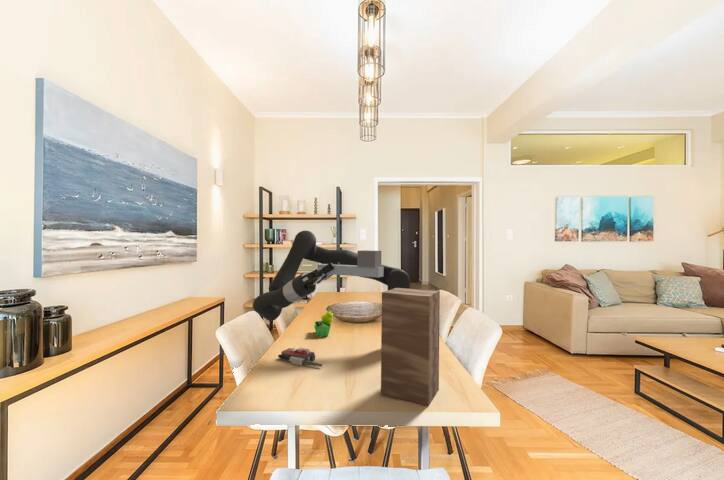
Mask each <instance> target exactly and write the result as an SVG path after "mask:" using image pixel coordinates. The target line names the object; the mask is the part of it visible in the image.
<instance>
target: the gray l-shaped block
mask: <svg viewBox="0 0 724 480" xmlns="http://www.w3.org/2000/svg"><path fill="white" fill-rule="evenodd" d="M356 253H357V265H336V264H333V266H334V269H333V270H331V271H330V272H328V273H327V274H332V276H334V275H335V276H337V275H338V276H349V277H359V276H363V277H362V278H364V277H383V274H384V267H381V264H382V250H368V249H367V250H366V249H365V250H364V249H362V250H357V252H356ZM326 265H328V264H322V263H317V269H320V268H322V269H323V267H325V266H326Z"/></svg>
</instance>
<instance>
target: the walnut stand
mask: <svg viewBox="0 0 724 480" xmlns="http://www.w3.org/2000/svg"><path fill="white" fill-rule="evenodd" d="M440 296H441V293H440V290H432V289H418V288H410V289H407V288H394V289H391V290H388V289H387V290H385V291H383V292H381V332H380V333H381V334H380V335H381V336H380V337H381V340H380V341H381V344H380V345H381V347H380V348H381V349H380V356H381V357H380V358H381V359H380V397H383V398H389V399H393V400H397V401H401V402H406V403H411V404H414V405H420V406H423V407H429V406H430V405H431V403H432V402H433V400H434V399H435V396H436V395H437V393H438V392H439V390H440V305H441V304H440V303H441V302H440V301H441V299H440Z"/></svg>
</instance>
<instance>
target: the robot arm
mask: <svg viewBox="0 0 724 480" xmlns="http://www.w3.org/2000/svg"><path fill="white" fill-rule="evenodd" d="M357 253H358V252H354V251H352V250H347V249H328V248H324V247H321V246H318V245H317V238H316V236H315V234H314V233H313V232H312V231H310V230H302V231H299V232H298V233H297V234H296V235H295V236H294V240H293V242H292V245H291V247H290V250H289V251H288V253H287V256H286V258H285V259H284V261H283V263H282V265H281V267H280V268H278V271H277V273H276V275H275V276H274V278H273V279H272V281H271V282H270V284H269V286H268V291H267V292H264V293H261V294H260V295H257V296H256V298H255V299H253V302H252V309H253V310H254V312H255V313H256V314H258V315H260V316H261V317H263V318H264V320H267V321H269V322H273V321H275V320H277V319H278V318H279V316H280V315H281V314H282V311H283V309H284V308H288V307H289V306H291V305H292V304H294V303H296V302H298V301H300V300H303V299H304V298H306V297H308V296H309V295H311V294H312V293H314V292H315V291H316V288H317V285H319V284H321V283H322V282H323V281H327V280H329V279H330V278H331V277H333V275H332V274H327V273H328V272H330V271H331V270H333V269H334V266H333V264H336V265H357ZM303 260H306V261H311V262H314V263H317V264H328V265H326V266H325V267H323V269H322V268H320V269H318V268H316V269H314V270H311V272H309V273H307V272H302V273H300V274H299V275H297V274H298V271H299V268H300V266H301V264H302V261H303ZM381 267H384V274H383V277H363V276H358V277H360V278H364V279H370V280H374V281H377V282H379V283H382V284H383V285H385V286H387V291H388V290H391V289H394V288H407V289H411V279H410V276H409V273H407V272H406V271H405V270H403V269H401V268H399V267H398V268H397V267H392V266H388V265H384V264H382V263H381Z"/></svg>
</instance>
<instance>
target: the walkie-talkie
mask: <svg viewBox="0 0 724 480" xmlns="http://www.w3.org/2000/svg"><path fill="white" fill-rule="evenodd" d="M277 358H280V359H281V360H283V361H288V362H290V363H291V364H293V365H297V366H301V367H302V366H303V365H308V366H314V367H315V366H317V367H323V364H322V363H319V362H313V361H314V360H315V359H316V354H315V351H310V349H309V348H305V347H299V348H295V347H292V348H289V347H288V348H285V350H282V351H281V354H278V355H277Z"/></svg>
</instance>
